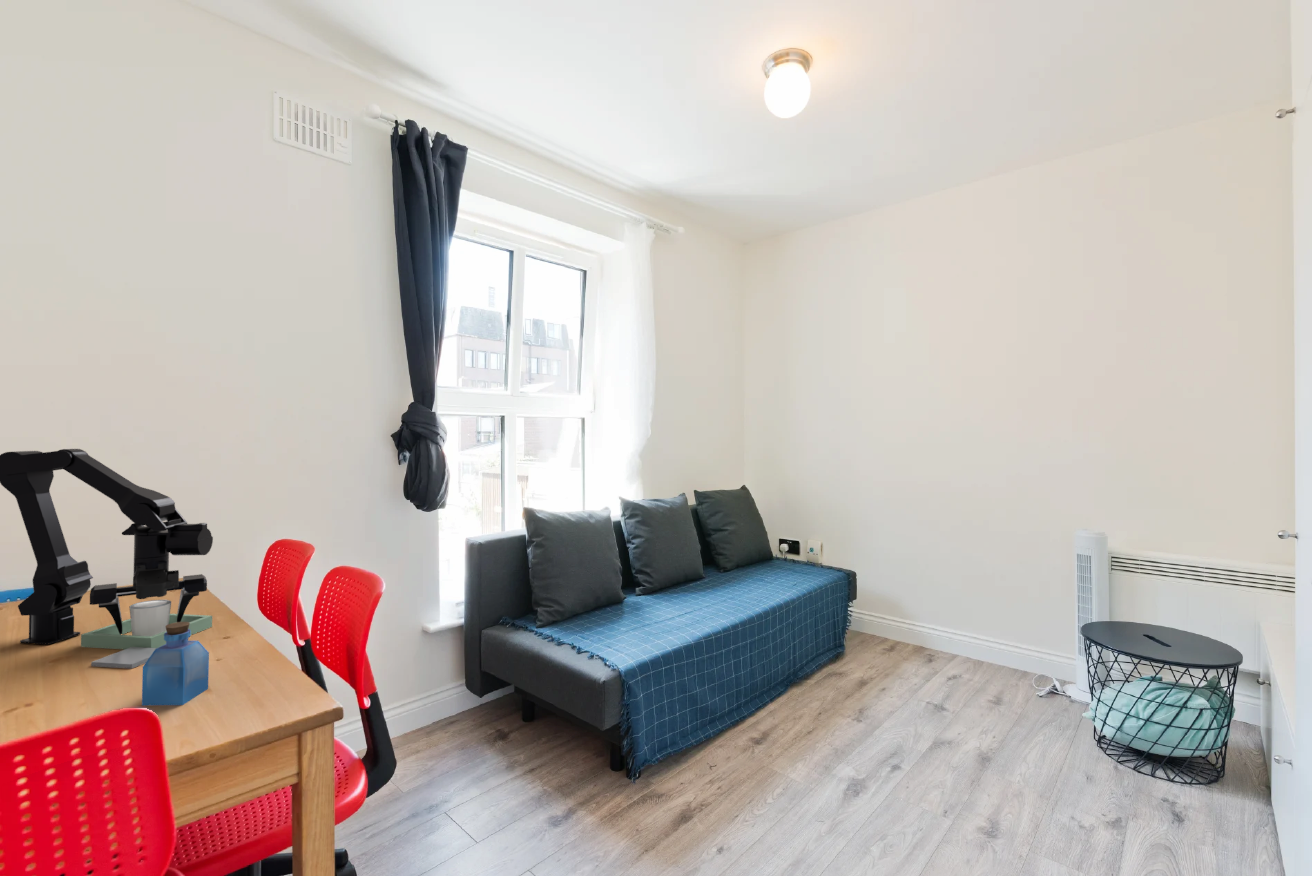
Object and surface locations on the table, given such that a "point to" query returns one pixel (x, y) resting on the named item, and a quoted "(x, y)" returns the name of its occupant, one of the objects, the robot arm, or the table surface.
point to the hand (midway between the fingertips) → (150, 629)
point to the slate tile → (125, 658)
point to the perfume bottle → (175, 669)
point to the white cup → (149, 617)
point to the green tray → (115, 640)
